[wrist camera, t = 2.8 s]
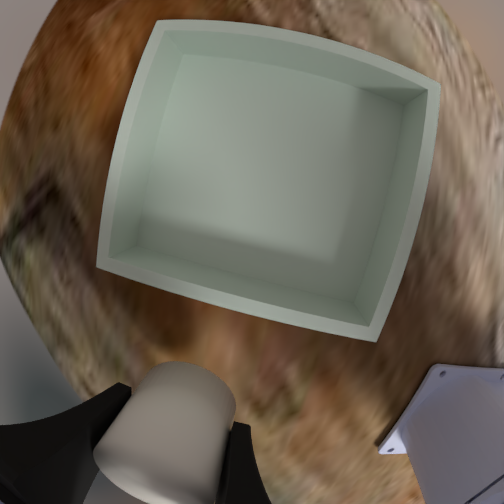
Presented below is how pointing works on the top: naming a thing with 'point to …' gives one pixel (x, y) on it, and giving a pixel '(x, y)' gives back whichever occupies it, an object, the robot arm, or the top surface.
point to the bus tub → (270, 174)
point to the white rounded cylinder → (170, 436)
